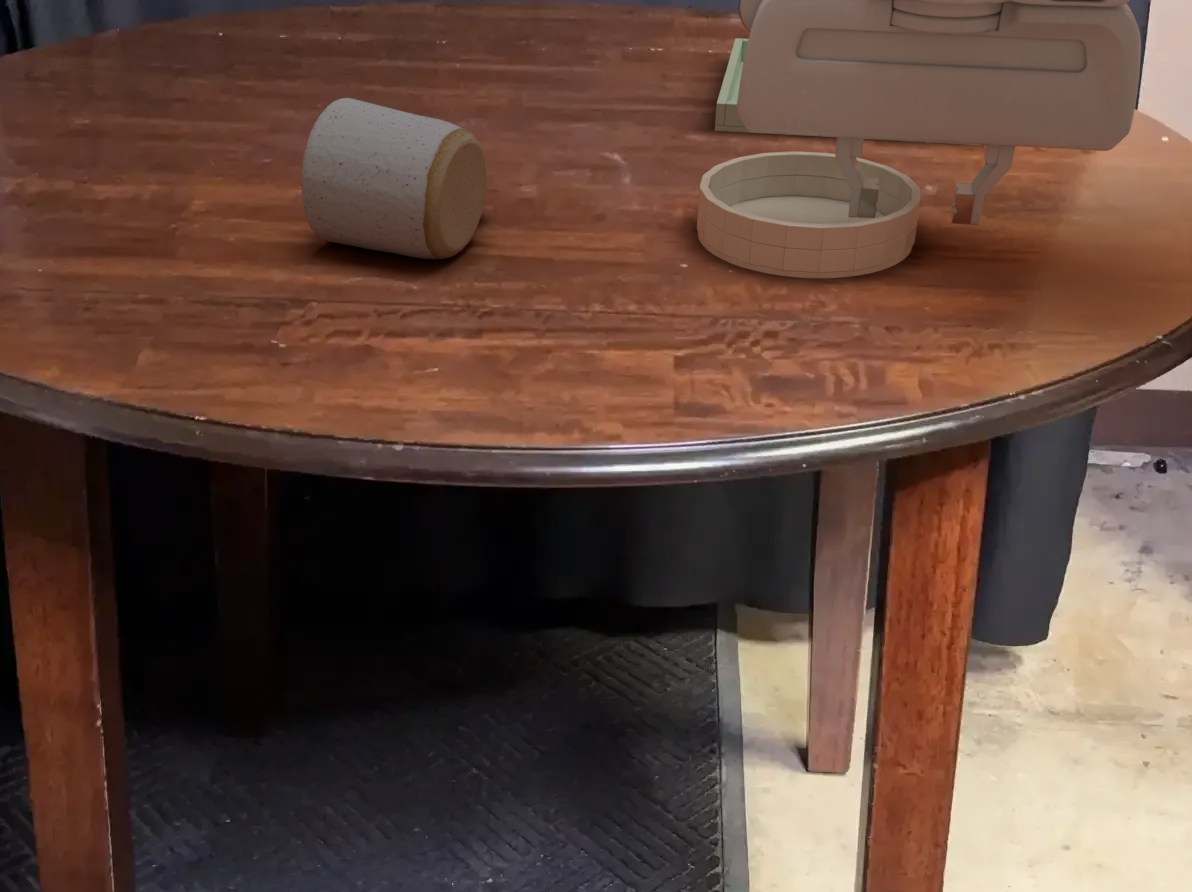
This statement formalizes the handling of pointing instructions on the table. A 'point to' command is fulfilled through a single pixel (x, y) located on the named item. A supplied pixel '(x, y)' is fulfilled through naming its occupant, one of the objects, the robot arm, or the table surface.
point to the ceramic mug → (392, 181)
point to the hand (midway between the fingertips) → (912, 217)
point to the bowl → (804, 216)
